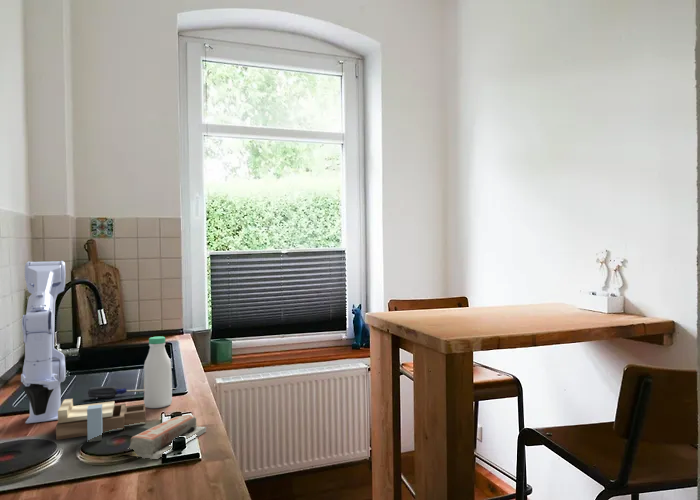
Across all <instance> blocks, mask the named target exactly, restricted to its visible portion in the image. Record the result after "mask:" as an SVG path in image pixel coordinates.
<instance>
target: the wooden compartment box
mask: <svg viewBox="0 0 700 500" xmlns="http://www.w3.org/2000/svg"><path fill="white" fill-rule="evenodd" d="M140 422H145V423H146V407H145V404H144V403H142V404H141V403H140V404H133V405H126V403H121V404H115V406H114V411H113V415H112V416H111V417H103V418H102V424H103V432H105V431H109V430H112V429H117V428H124V429H125V427H124V425H129V424H134V423H140ZM55 435H56V436H55V438H56V440H57V441H58V440H65V439H71V438H72V439H73V438H78V437H85V436H86V437H88V435H87V420H80V421H72V422H64V423H58V422H57V423H56V426H55Z"/></svg>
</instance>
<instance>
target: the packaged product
mask: <svg viewBox="0 0 700 500" xmlns="http://www.w3.org/2000/svg"><path fill="white" fill-rule="evenodd" d="M206 431H207V427H206V426H197V418H196V417H195V416H192V415H191V414H185V415H179V416H175V417H173V418H170V419H168V420H165V421H163V422H161V423H159V424H157V425H154V426H152V427H151V428H148V429H146V430H143V431H142V432H140V433H138V434H135V435H133V436H131V438H130V445H129V446H128V449H129V448H130V449H133V450H134V451H135V453H136V454H137V455H139V456H141V457H142V458H141V459H145V458H150V459H149V460H152V459H158V458H160V457H162V454H163V453H164V452H166V451H168V450H170V449H171V448H172V446H169V445H171V443H172V440H173V439H174V438H176V437H179V436H186V439H188V438H190V437H192V436H193V435H195V434H196V435H197V436H198V437H200V436H201V435H203V434H205V433H206ZM162 458H163V457H162Z"/></svg>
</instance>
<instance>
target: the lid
mask: <svg viewBox="0 0 700 500" xmlns="http://www.w3.org/2000/svg"><path fill="white" fill-rule="evenodd" d="M100 404H102V418H103V417H111V416H112V415H113V411H114V406H115V405H116V403H115V400H112V401H105V402H104V401H103V402H97V403H86V404H80V405H79V404H78V405H74V398H66V399H63V400H62V402H61V406H60V408H59V410H58V420H57V423H64V422H72V421H80V420H87V408H88V406H91V405H100Z"/></svg>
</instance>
